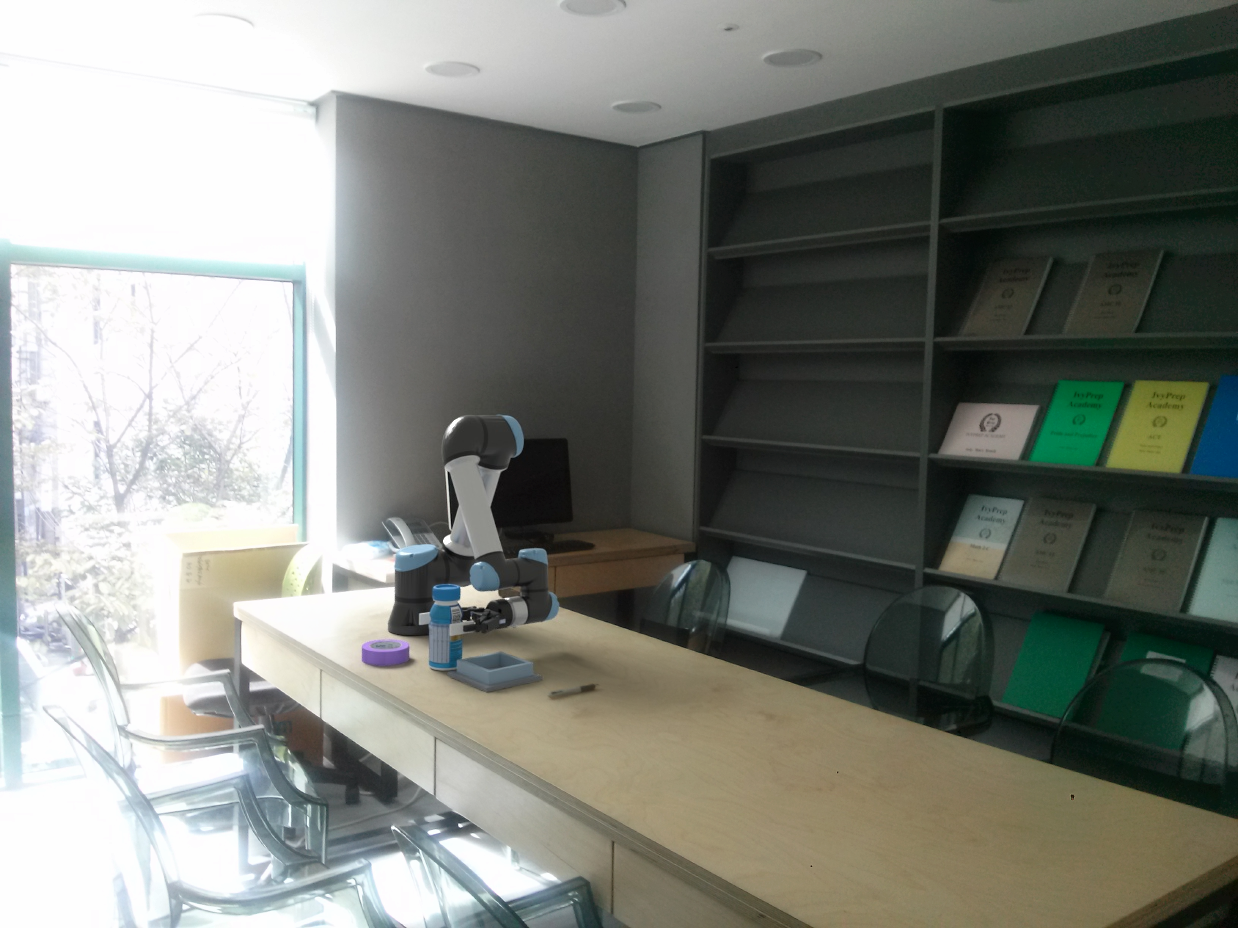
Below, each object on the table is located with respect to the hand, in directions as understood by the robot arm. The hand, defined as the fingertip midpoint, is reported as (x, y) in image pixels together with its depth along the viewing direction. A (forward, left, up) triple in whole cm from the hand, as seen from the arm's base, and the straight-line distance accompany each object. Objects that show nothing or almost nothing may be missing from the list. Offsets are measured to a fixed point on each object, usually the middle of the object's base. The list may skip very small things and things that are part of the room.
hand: (434, 624), depth 246 cm
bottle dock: (+15, +7, -11) cm, 20 cm away
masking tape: (-15, -5, -11) cm, 19 cm away
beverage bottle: (0, +3, -11) cm, 12 cm away
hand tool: (-52, +62, -11) cm, 82 cm away
